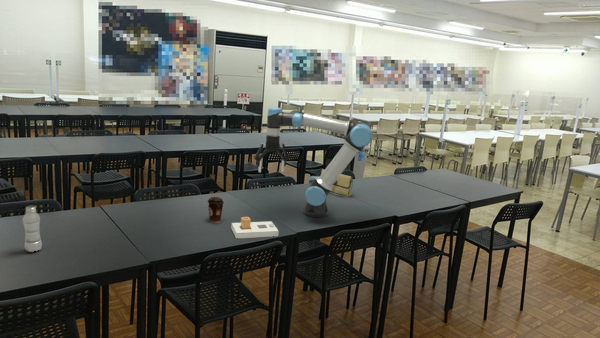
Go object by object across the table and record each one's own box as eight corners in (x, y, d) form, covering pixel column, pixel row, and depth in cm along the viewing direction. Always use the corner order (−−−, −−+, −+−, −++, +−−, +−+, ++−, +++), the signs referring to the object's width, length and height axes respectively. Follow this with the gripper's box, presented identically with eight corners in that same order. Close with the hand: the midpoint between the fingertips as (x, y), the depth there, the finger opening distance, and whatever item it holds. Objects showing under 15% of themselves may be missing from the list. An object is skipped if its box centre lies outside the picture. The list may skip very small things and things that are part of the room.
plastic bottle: (45, 248, 194) (42, 205, 189) (36, 254, 187) (34, 210, 183) (30, 247, 194) (27, 204, 189) (21, 253, 187) (18, 209, 182)
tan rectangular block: (247, 231, 232) (248, 216, 230) (249, 233, 228) (250, 219, 226) (240, 231, 230) (241, 217, 228) (242, 234, 227) (243, 219, 225)
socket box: (271, 226, 241) (271, 220, 240) (278, 236, 228) (278, 229, 227) (231, 228, 234) (231, 222, 233) (236, 238, 221) (236, 231, 220)
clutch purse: (313, 189, 320) (315, 169, 317) (319, 187, 326) (321, 168, 322) (347, 199, 302) (350, 178, 299) (353, 197, 308) (355, 177, 304)
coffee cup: (207, 223, 237) (208, 201, 234) (206, 218, 245) (207, 196, 242) (223, 223, 240) (224, 200, 237) (222, 218, 247) (222, 196, 244)
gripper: (291, 134, 255) (289, 169, 259) (249, 133, 246) (248, 170, 251) (296, 136, 248) (293, 173, 253) (253, 136, 239) (251, 173, 244)
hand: (271, 171), depth 252 cm, fingers open, 13 cm apart
